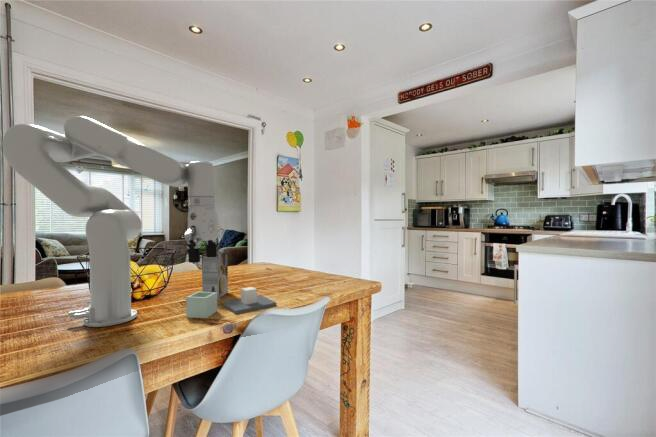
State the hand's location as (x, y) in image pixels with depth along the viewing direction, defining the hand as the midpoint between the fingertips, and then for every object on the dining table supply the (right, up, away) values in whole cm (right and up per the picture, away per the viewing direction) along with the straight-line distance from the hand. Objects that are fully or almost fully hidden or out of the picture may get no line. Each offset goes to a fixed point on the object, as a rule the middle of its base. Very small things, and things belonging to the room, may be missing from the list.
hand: (203, 259), depth 92 cm
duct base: (+11, -17, +9) cm, 22 cm away
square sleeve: (0, -17, 0) cm, 17 cm away
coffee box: (-4, -17, +21) cm, 27 cm away
